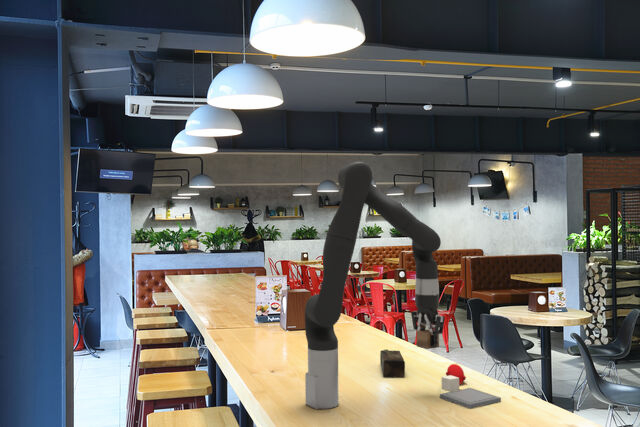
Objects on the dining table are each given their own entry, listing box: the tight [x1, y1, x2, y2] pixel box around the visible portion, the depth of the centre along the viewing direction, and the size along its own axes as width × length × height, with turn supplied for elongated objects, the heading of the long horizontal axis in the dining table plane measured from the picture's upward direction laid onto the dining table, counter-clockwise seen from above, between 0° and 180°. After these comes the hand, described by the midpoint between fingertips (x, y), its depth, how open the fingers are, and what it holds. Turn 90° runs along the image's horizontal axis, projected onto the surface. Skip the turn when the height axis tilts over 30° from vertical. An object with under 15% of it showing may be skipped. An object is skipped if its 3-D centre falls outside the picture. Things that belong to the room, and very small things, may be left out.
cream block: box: [441, 375, 460, 392], centre depth 199 cm, size 4×4×4 cm
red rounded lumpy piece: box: [445, 363, 467, 386], centre depth 207 cm, size 8×6×6 cm
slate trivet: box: [439, 387, 502, 409], centre depth 187 cm, size 13×13×1 cm
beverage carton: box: [379, 349, 406, 378], centre depth 224 cm, size 8×19×7 cm, turn 178°
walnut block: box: [416, 328, 440, 350], centre depth 194 cm, size 5×5×5 cm
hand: (428, 345), depth 194 cm, fingers closed on walnut block, 5 cm apart
